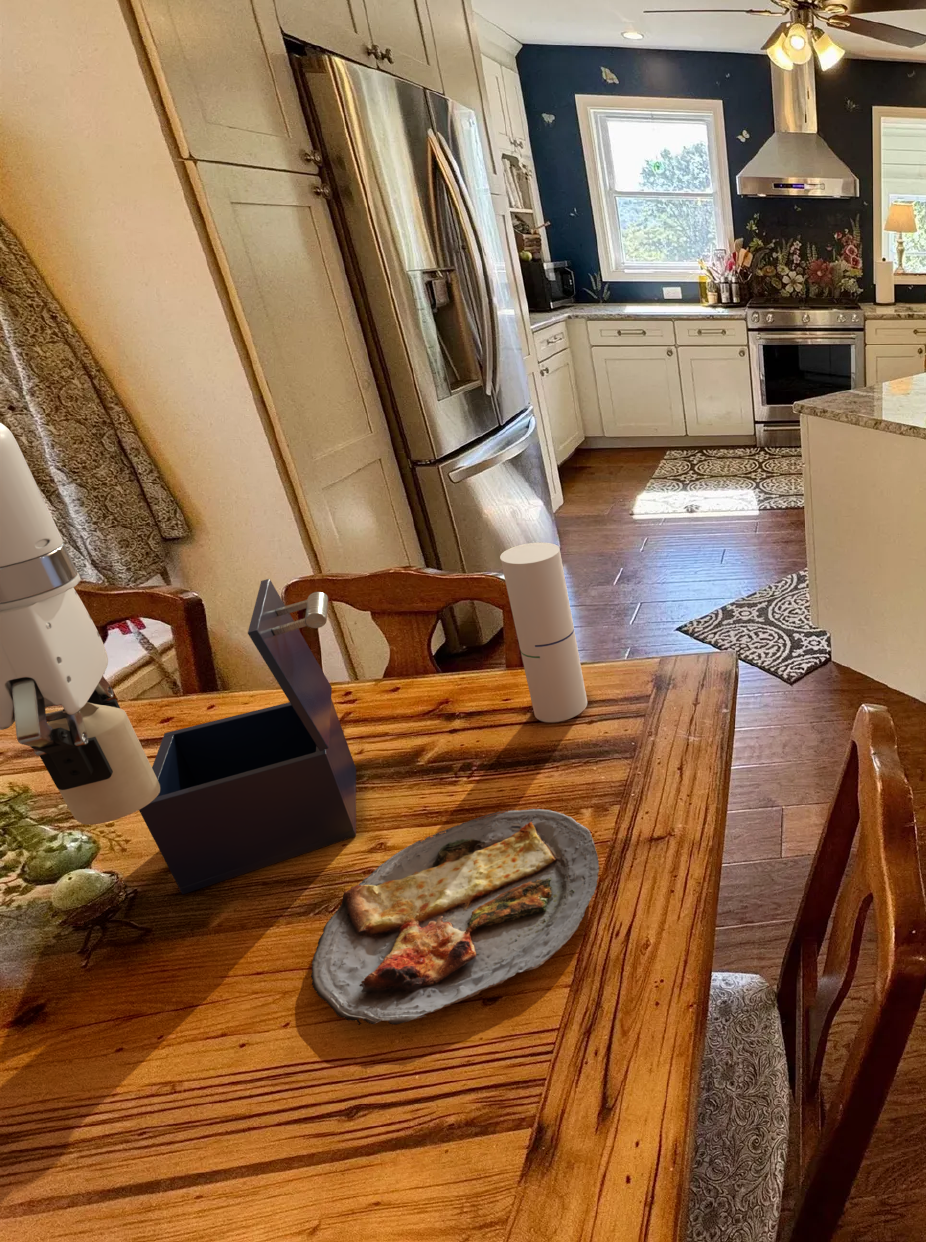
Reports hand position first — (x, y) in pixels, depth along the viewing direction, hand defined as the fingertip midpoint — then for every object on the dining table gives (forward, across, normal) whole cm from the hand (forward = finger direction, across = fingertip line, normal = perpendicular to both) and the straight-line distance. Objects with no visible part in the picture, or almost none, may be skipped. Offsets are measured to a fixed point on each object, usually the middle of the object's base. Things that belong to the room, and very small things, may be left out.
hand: (97, 759), depth 64 cm
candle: (+5, 0, 0) cm, 5 cm away
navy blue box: (+21, -13, +6) cm, 25 cm away
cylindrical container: (+21, -20, +38) cm, 48 cm away
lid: (+1, -13, +12) cm, 18 cm away
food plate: (+21, +13, +24) cm, 34 cm away
